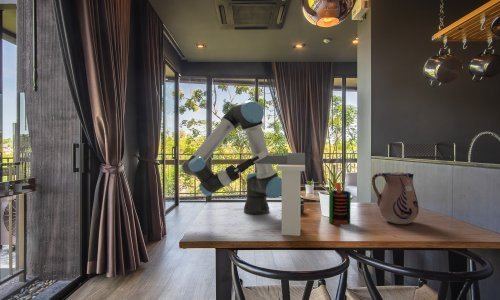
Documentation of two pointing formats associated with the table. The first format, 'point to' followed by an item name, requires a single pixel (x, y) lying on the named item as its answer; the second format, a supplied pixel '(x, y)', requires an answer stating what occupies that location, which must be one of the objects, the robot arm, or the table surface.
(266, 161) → the bar
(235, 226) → the table surface
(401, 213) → the ceramic pitcher
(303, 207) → the jar
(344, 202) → the motor
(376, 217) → the table surface
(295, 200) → the stand
